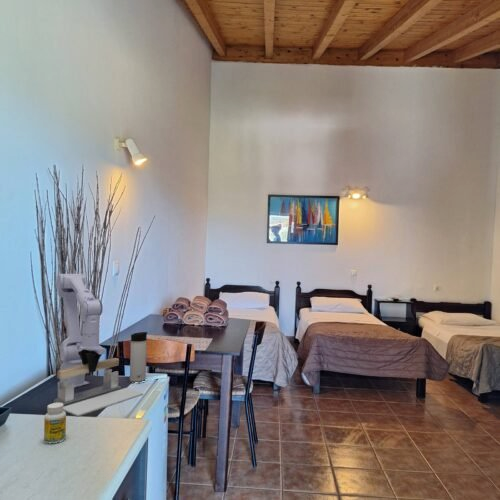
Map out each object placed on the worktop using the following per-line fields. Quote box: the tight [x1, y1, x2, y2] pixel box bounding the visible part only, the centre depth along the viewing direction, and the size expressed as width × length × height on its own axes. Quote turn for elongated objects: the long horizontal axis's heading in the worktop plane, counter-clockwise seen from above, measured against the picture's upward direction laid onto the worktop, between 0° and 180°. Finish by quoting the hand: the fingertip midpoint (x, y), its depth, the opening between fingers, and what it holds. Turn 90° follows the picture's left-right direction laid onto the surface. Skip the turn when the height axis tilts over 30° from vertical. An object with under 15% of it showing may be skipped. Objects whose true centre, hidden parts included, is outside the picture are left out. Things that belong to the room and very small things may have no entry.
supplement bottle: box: [43, 402, 67, 445], centre depth 111 cm, size 5×5×10 cm
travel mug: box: [129, 331, 148, 384], centre depth 164 cm, size 6×7×20 cm
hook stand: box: [53, 368, 122, 406], centre depth 146 cm, size 6×23×7 cm, turn 145°
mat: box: [63, 387, 144, 417], centre depth 141 cm, size 10×26×1 cm, turn 145°
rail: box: [56, 357, 120, 380], centre depth 146 cm, size 2×23×2 cm, turn 145°
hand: (89, 371), depth 146 cm, fingers closed on rail, 2 cm apart
